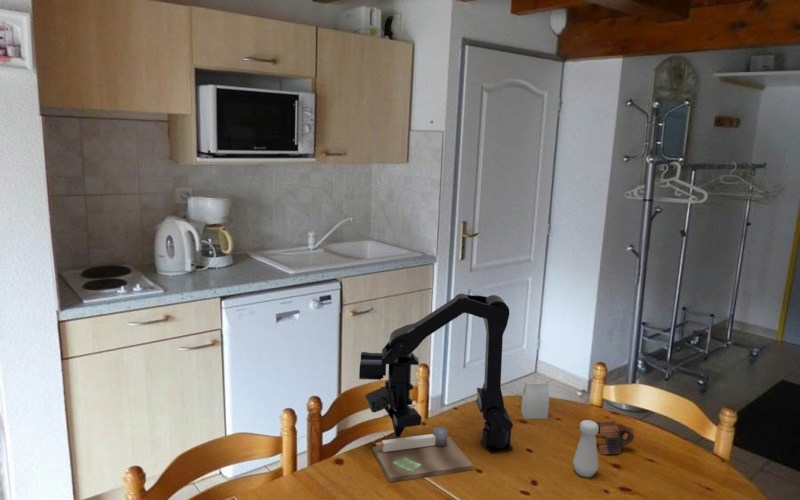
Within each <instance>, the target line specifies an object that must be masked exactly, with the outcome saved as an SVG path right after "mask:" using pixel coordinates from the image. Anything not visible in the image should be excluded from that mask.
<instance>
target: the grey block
mask: <svg viewBox="0 0 800 500" xmlns="http://www.w3.org/2000/svg"><path fill="white" fill-rule="evenodd" d="M549 388H550V387H549V383H547V382H546V383H545V382H541V383H538V382H536V383H535V382H534V383H533V382H531V383H530V382H528V383H527V382H525V383H524V388H523V391H522V398H521V411H520V413H521V415H522V417H523V418H524V419H527V420H531V419H532V420H535V419H536V420H537V419H538V420H539V419H543V420H548V418H549V406H550V393H549Z"/></svg>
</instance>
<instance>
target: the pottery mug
mask: <svg viewBox="0 0 800 500" xmlns="http://www.w3.org/2000/svg"><path fill="white" fill-rule="evenodd" d="M594 422H595V421H594ZM595 423H597V425H598V427H599V431H598V433H597V434H600V436H601V438H602V439H604V440H605V444H601V445H599V446H598V448H599V453H600V455H619V454H621V452H622V449H624V447H625V446H627V445H630V444H631V443H632V442H633V440H634V439H635V435H634V431H633V430H632V429H631V428H629V427H619V426H617V425H616V421H615V420H605V421H596V422H595ZM625 434H627V438H626V439H624V436H625Z"/></svg>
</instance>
